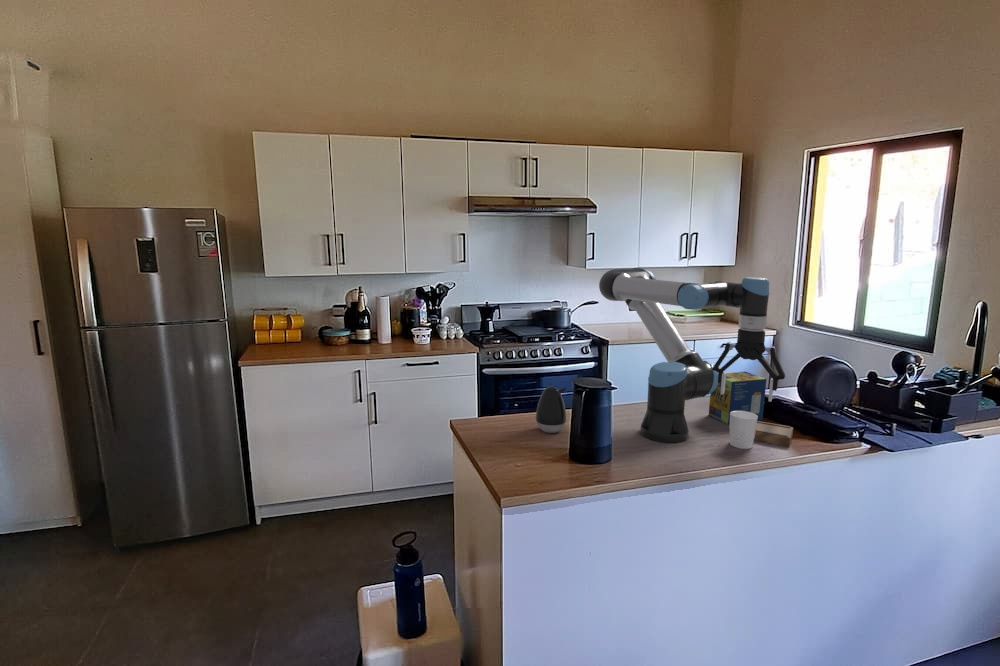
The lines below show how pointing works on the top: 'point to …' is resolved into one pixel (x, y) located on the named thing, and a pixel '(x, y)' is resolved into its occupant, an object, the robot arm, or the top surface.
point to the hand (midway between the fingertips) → (745, 396)
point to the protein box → (738, 396)
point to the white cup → (742, 429)
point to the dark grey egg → (551, 410)
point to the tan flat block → (773, 433)
